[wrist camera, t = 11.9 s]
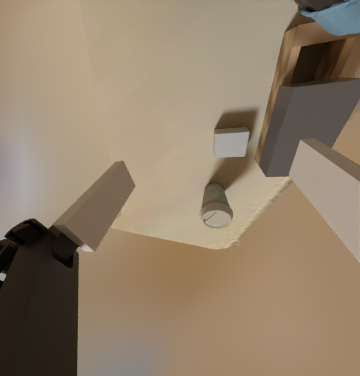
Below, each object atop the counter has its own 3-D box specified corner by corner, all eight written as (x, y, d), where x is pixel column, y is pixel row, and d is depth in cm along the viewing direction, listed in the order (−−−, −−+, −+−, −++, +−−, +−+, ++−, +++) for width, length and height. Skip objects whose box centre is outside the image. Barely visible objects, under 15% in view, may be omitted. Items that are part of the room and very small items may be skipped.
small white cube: (214, 129, 33) (215, 134, 30) (245, 126, 32) (249, 131, 29) (213, 151, 37) (214, 157, 34) (241, 149, 35) (245, 156, 32)
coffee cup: (222, 175, 41) (227, 204, 32) (231, 195, 45) (238, 226, 36) (195, 184, 44) (193, 213, 35) (206, 202, 48) (206, 232, 39)
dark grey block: (271, 84, 26) (294, 87, 19) (326, 77, 24) (371, 78, 18) (254, 157, 35) (265, 176, 29) (293, 156, 34) (315, 175, 27)
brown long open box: (284, 32, 23) (298, 24, 19) (341, 22, 21) (368, 11, 18) (254, 159, 36) (260, 167, 33) (288, 157, 35) (297, 166, 31)
